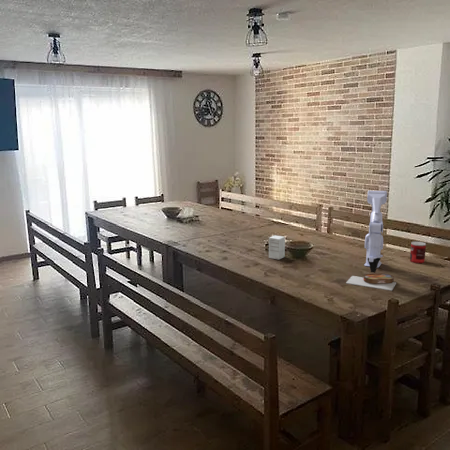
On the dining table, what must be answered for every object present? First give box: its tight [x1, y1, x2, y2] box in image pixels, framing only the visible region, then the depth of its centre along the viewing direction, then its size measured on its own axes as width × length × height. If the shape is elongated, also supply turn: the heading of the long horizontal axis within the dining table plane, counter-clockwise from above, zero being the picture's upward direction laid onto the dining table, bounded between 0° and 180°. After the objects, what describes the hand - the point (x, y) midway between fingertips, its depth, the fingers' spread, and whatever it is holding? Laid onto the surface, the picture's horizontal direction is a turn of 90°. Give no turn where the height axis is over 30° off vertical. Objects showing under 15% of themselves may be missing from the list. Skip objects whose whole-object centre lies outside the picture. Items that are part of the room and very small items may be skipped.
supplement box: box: [268, 235, 286, 260], centre depth 270 cm, size 7×7×13 cm
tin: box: [363, 273, 395, 284], centre depth 227 cm, size 15×3×8 cm
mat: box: [345, 275, 397, 292], centre depth 225 cm, size 12×22×1 cm, turn 60°
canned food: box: [409, 241, 427, 264], centre depth 259 cm, size 8×8×11 cm
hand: (373, 272), depth 227 cm, fingers closed
